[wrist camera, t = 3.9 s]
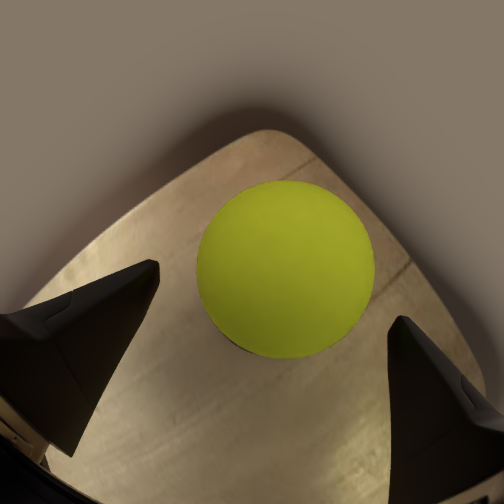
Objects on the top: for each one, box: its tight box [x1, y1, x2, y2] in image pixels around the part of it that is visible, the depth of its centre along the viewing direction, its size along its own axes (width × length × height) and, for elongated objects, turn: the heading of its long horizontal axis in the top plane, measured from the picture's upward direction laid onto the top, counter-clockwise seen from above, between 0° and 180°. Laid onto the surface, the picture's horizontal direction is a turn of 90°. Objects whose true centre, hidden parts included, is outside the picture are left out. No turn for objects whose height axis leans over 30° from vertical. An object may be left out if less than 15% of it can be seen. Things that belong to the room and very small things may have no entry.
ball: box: [197, 180, 375, 359], centre depth 10 cm, size 7×7×7 cm
